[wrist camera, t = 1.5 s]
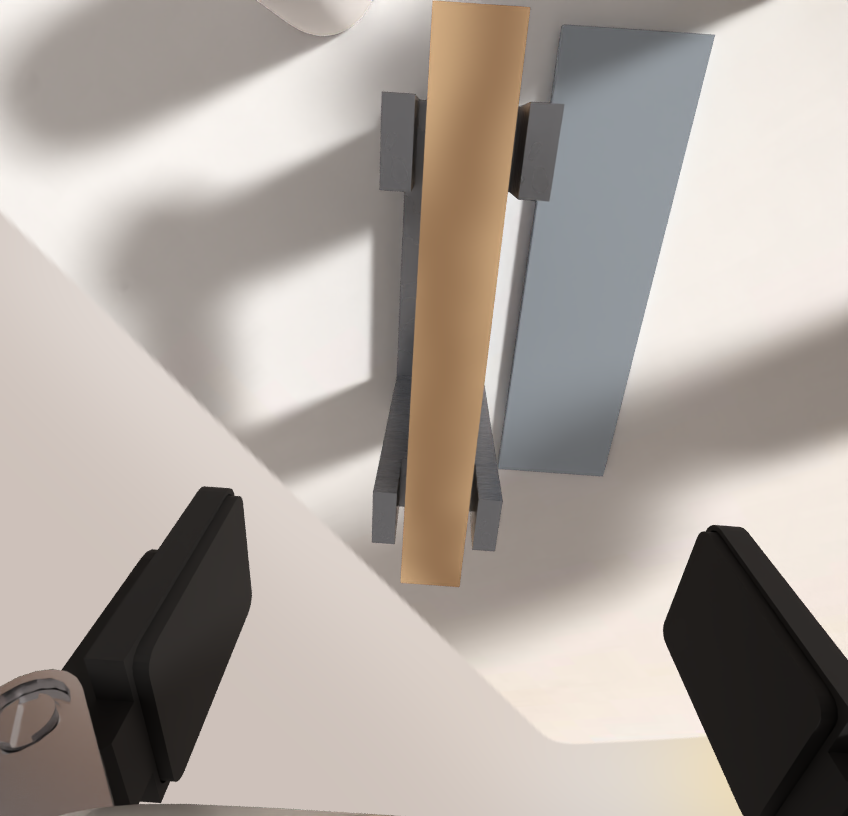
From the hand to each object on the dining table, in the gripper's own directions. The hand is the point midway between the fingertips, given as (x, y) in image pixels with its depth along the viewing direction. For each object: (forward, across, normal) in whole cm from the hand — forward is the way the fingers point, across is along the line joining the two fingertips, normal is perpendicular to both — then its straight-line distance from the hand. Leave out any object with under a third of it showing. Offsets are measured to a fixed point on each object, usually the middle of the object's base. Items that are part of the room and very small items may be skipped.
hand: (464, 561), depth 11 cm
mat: (+27, -9, 0) cm, 28 cm away
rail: (+15, 0, 0) cm, 15 cm away
